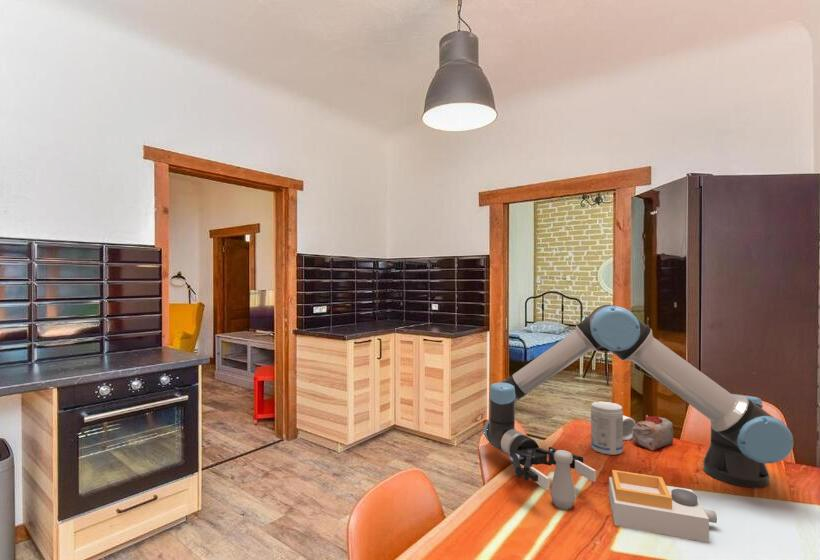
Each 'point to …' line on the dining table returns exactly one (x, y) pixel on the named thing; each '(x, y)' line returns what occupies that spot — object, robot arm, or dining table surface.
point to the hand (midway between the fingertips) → (572, 480)
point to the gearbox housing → (657, 507)
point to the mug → (628, 428)
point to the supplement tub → (607, 428)
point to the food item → (653, 433)
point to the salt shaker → (563, 481)
